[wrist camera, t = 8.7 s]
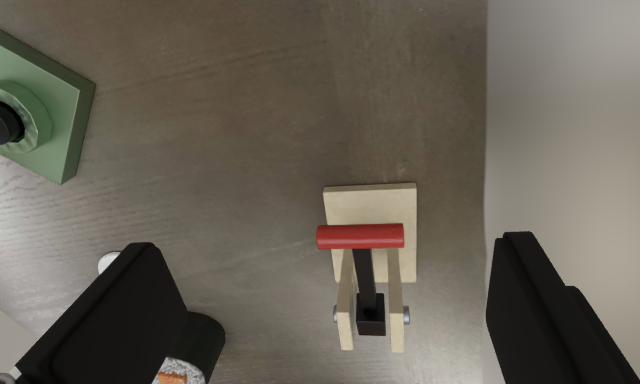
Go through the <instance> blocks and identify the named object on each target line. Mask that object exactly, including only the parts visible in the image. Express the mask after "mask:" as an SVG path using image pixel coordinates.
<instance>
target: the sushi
mask: <svg viewBox="0 0 640 384" xmlns="http://www.w3.org/2000/svg"><path fill="white" fill-rule="evenodd" d="M224 344H225V333H224V330H223V327H222V326H221V325H220V324H219V323H218V322H216V321H215V320H213V319H211V318H209V317H207V316H203V315H200V314H196V313H193V312H188V316H187V321H186V323H185V325H184V327H183V328H182V330H181V332H180V334H179V336H178V337H177V339H176V341H175V343H174V345H173V346H172V348H171V350H170V352H169V353H168V355H167V357H166V359H165V361H164V362H163V364H162V366H161V368H160V370H159V371H158V373H157V375H156V377H155V379H154V380H153V382H152V384H208V382H209V380H210V377H211V375H212V372H213V369H214V367H215V364H216V362H217V360H218V358H219V355H220V353H221V351H222V348H223V346H224Z"/></svg>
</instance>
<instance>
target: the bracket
mask: <svg viewBox="0 0 640 384" xmlns="http://www.w3.org/2000/svg"><path fill="white" fill-rule="evenodd" d="M323 197H324V204H325V211H326V218H327V225H349V224H385V223H403V226H404V248H382V249H372V258H373V268H374V277H375V282H388V284H389V307H390V329H391V351H392V352H404V324H408V325H409V324H410V317H409V307H408V306H403V299H402V288H401V282H416V206H417V188H416V183H397V184H376V185H355V186H334V187H324V191H323ZM331 253H332V260H333V267H334V274H335V280H336V282H340V283H339V291H338V300H337V305H335V306H334V311H333V317H334V322H335V323H338V329H339V336H340V343H341V349H342V350H353V349H354V336H355V319H356V294H357V285H358V281H357V276H356V270H355V264H354V259H353V253H352V249H331Z"/></svg>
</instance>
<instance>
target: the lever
mask: <svg viewBox="0 0 640 384" xmlns="http://www.w3.org/2000/svg"><path fill="white" fill-rule="evenodd" d="M316 238H317V246H318V249H352V253H353V259H354V264H355V270H356V276H357V281H358V287H359V293H357V294H356V324H357V329H358V333H359V335H371V336H386V326H385V303H384V294H383V293H376V287H375V277H374V268H373V258H372V249H382V248H404V226H403V223H385V224H349V225H319V226H318V227H317V234H316Z"/></svg>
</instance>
